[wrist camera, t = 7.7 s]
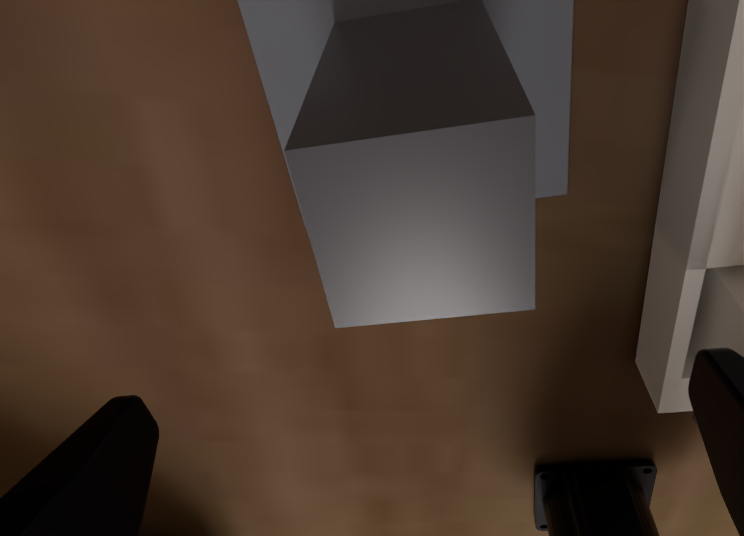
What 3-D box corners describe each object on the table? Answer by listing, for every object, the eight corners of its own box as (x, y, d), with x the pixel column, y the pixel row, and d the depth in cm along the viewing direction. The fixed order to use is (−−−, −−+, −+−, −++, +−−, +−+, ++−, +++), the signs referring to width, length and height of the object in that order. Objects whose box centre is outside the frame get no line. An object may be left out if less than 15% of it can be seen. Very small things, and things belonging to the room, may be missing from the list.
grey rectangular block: (487, 136, 19) (534, 309, 12) (360, 154, 20) (335, 328, 13) (480, -3, 17) (535, 115, 10) (334, 22, 17) (283, 150, 10)
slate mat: (564, 187, 21) (567, 194, 21) (307, 220, 22) (305, 227, 22) (573, -135, 15) (578, -135, 15) (224, -62, 17) (219, -59, 16)
